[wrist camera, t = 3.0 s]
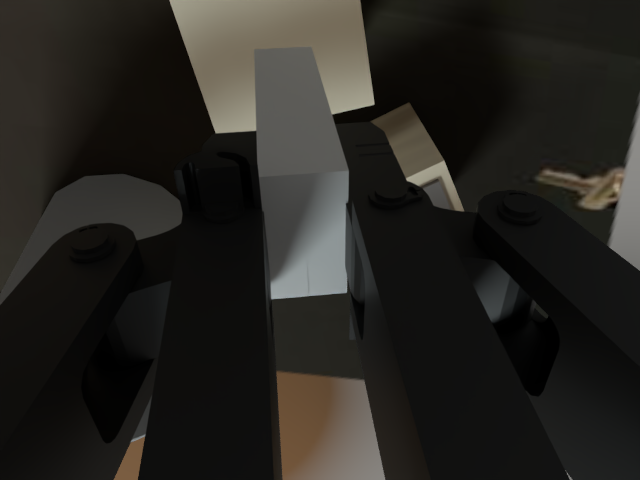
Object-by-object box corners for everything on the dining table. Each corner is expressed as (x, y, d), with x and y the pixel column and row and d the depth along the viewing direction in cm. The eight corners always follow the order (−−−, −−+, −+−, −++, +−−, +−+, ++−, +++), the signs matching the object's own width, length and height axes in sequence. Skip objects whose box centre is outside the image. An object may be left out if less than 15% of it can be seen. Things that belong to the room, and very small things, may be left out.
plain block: (178, -63, 21) (158, -32, 16) (326, -98, 21) (349, -78, 16) (223, 81, 25) (218, 140, 20) (350, 52, 25) (374, 104, 20)
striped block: (301, 154, 28) (312, 224, 23) (409, 101, 26) (445, 163, 22) (348, 235, 31) (367, 310, 26) (445, 191, 30) (484, 261, 25)
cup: (189, 169, 27) (166, 307, 19) (210, 288, 32) (199, 436, 24) (17, 180, 27) (-80, 327, 19) (66, 300, 32) (6, 456, 24)
